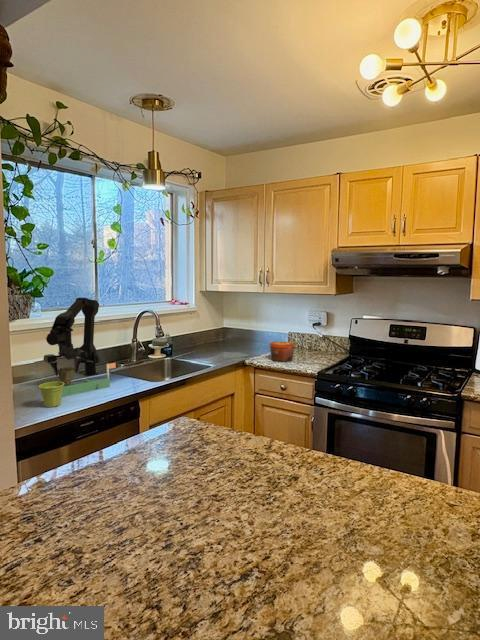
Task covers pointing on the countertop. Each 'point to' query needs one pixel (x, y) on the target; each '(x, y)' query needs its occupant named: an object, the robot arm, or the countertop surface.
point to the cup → (66, 375)
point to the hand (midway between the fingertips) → (66, 373)
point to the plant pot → (52, 393)
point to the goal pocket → (88, 384)
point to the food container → (282, 351)
